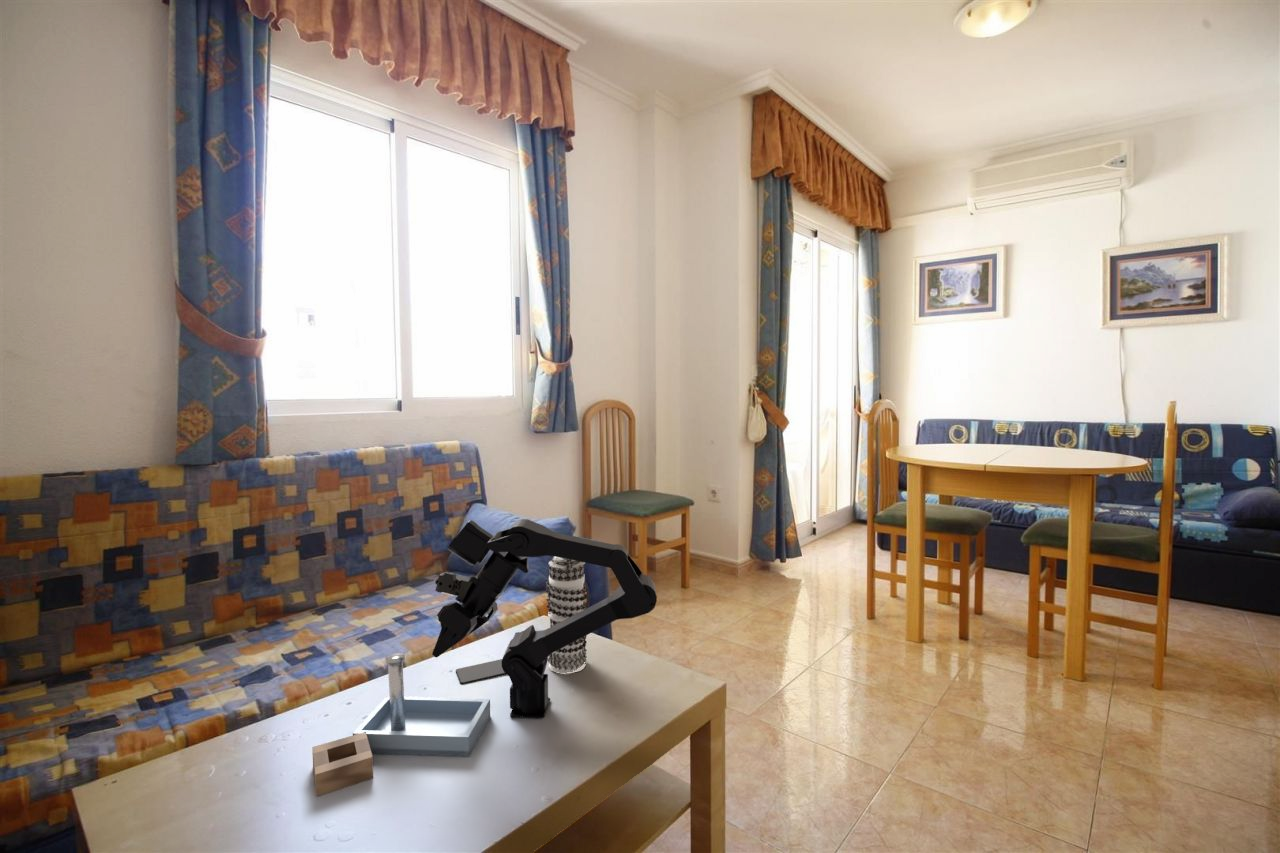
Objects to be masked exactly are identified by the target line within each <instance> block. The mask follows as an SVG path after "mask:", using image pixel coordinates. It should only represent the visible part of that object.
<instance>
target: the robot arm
mask: <svg viewBox="0 0 1280 853" xmlns="http://www.w3.org/2000/svg"><path fill="white" fill-rule="evenodd" d="M446 550H448V551H450V552H451V553H452V554H454V555H455V556H457V557H458V558H460V559H461V560H462V561H464V562H466V563H467V564H469V565H470V566H476V565H477V564H478V565H481V564H482V563H483V561H484V560H485V559H486V557H487V556H488V554H489V553H490V551H491V552H492V553H491V555H490V556H489V558H488V559H487V560H486V562H485V563H484V564H483V566H482V567H481V569H480V571H479V572H478V573H477V574H476V575H473V576H471V577H469V576H466V575H462V574H459V573H458V574H457V573H453V572H450V571H445V572H441V573H439V575H438V578H436V580H435V582H434V583H435V585H436V586H435V592H437V593H439V594H441V593H445V594H449V595H452V596H455V600H456V601H454V602H449V603H447V604H445V605H443V606H442V607H441V608H440V610H439V611H438V613H437V615H436V616H437V619H438V620H437V621H438V622H439V623H440V628H441V629H440V632H439V634H438V636H437V637H438V638H437V640H436V643H435V645H434V647H433V650H432V653H431V655H432V656H433V657H435V658H438V657H440V656H442V655H443V654H444V653H445V652H447V651H448V650H450V649H451V648H452V647H454V646H456V645H457V644H459V643H460V642H461V641H462V640H464V639H466V638H467V637H469V635H471V634H472V633H474V632H475V631H476V630H478V629H479V628H481V627H482V626H484V625H485V624H487V622H489V621H490V620H491V619H492V618H493V617H494V616H495V614H496V613H497V611H498V609H499V606H498V603H497V602H496V601H497V600H498V599H499V598H500V597H501V596H503V594H504V592H505V588H506V587H507V585H508V584H509V583H510V581H511V580H512V579H513V577H514V576H515V574H516V573H517V571H518V570H520V571H521V572H523V573H524V574H528V573H529V570H530V564H529V558H538V557H549V556H550V557H554V556H555V557H560V558H565V559H570V560H575V561H580V562H585V564H589V565H595V566H598V567H605V568H609V569H610V570H611V571H612V572H613V574H614V576H615V577H616V579H617V581H618V584H619V586H618V587H617V588H616V589H615V590H614V591H613V592H612V593H611V594H610V595H609V596H608V597H606V598H604V599H603V600H600V601H599V602H596V603H595V604H593V605H590V606H588V607H586V608H584V609H585V610H583V611H581V612H579V613H577V614H575V615H573V616H571V617H569V618H567V619H565V620H563V621H562V622H560V623H558V624H556V625H554V626H552V627H550V626H549V627H548V628H546V629H541V630H536V629H535V626H534V625H533V624H531V625H529V626H528V627H527V628H525V629H524V630H522V631H518V632H515V633H514V636H513V638H511V640H510V642H509V643H508V645H507V647H506V649H505V652H504V654H503V657H502V668H503V671H504V672H505V673H506V674H507V676H508V677H509V679H510V683H511V686H510V687H509V708H510V709H511V711H510V713H509V716H510V717H511V718H524V719H525V718H526V719H527V718H529V719H532V718H533V719H534V718H535V719H544V717H545V715H546V714H547V711H548V708H549V706H548V705H550V702H551V698H550V697H549V676H548V675H549V674H548V673H545V672H546V667H547V665H548V658H549V655H550V654H552V653H553V652H555V651H557V650H559V649H561V648H563V647H565V646H567V645H569V644H571V643H573V642H575V641H576V640H578V639H580V638H582V637H584V636H586V635H587V636H588V635H590V634H592V633H593V632H596V631H598V630H600V629H602V628H603V627H606V626H607V625H610V624H612V623H614V622H615V621H617V620H627V619H628V620H630V619H633V618H637V617H641V616H643V615H647V614H649V613H650V612H652V611H654V608H655V607H656V604H657V601H658V599H657V590H656V584H655V581H654V580H653V579H652V577H650V576H649V575H647V574H644V573H643V571H642V570H641V569H640V567H639V565H638V563H636V562H635V560H634V559H633V558H632V557H631V555H630V553H629V552H628V550H627V548H626V547H625V546H624V545H621V544H618V543H616V544H613V543H607V542H603V541H599V540H593V539H587V538H583V537H579V536H575V535H570V534H565V533H559V532H556V531H554V530H552V529H550V528H548V527H547V526H545V525H543V524H540V523H538V522H535V521H533V520H530V519H526V518H522V519H518V520H517V521H515V522H514V523H513V524H512V525H511V526H510V527H509V528H505V529H502V530H499V531H496V532H495V533H494V534H492V533H490V532H489V531H487V530H486V529H484V528H483V527H481V526H480V525H479V524H477V522H475V521H474V520H472V519H470V520H468V521H467V522H466V523H465V525H464V526H463V527H462V529H461V530H460V531H459V533H458V534H456V535H455V536H454V537H453V539H452V540H451V542H450V543H449V545H448V546H447V549H446ZM587 636H586V637H587ZM546 710H547V711H546Z"/></svg>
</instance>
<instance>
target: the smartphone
mask: <svg viewBox="0 0 1280 853" xmlns="http://www.w3.org/2000/svg"><path fill="white" fill-rule="evenodd" d="M502 659H503V658H502ZM502 659H501V658H499V659H496V660H492V661H487V662H482V663H478V664H474V665H468V666H465V667H461V668H460V667H459V668H457V669H455V675H456V677H457V679H458V682H459V684H460V685H467V684H471V683H475V682H479V681H480V682H481V681H485V680H489V679H494V677H495V678H497V677H498V676H499V677H502V675H504V676H506V675H507V674H506V673H505V672H504V671H503V668H502ZM507 676H508V675H507ZM499 677H498V678H499Z"/></svg>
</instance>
